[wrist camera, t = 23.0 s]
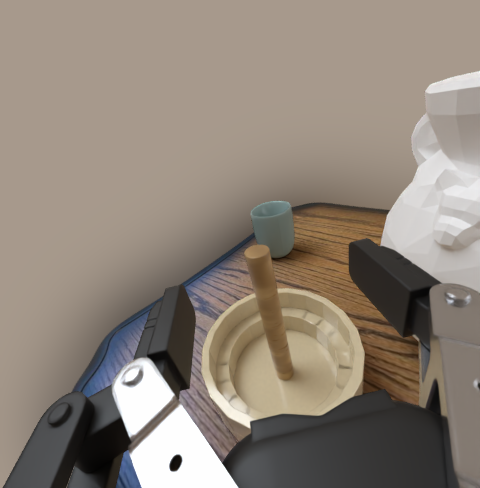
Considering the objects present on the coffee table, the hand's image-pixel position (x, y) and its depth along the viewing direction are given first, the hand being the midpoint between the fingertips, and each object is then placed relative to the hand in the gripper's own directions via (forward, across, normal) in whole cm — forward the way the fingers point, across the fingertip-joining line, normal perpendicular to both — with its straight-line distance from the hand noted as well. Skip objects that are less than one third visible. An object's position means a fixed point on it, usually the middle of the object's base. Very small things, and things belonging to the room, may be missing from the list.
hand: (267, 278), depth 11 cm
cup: (+32, -6, +19) cm, 38 cm away
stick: (+7, 0, +18) cm, 20 cm away
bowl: (+7, 0, +19) cm, 20 cm away
